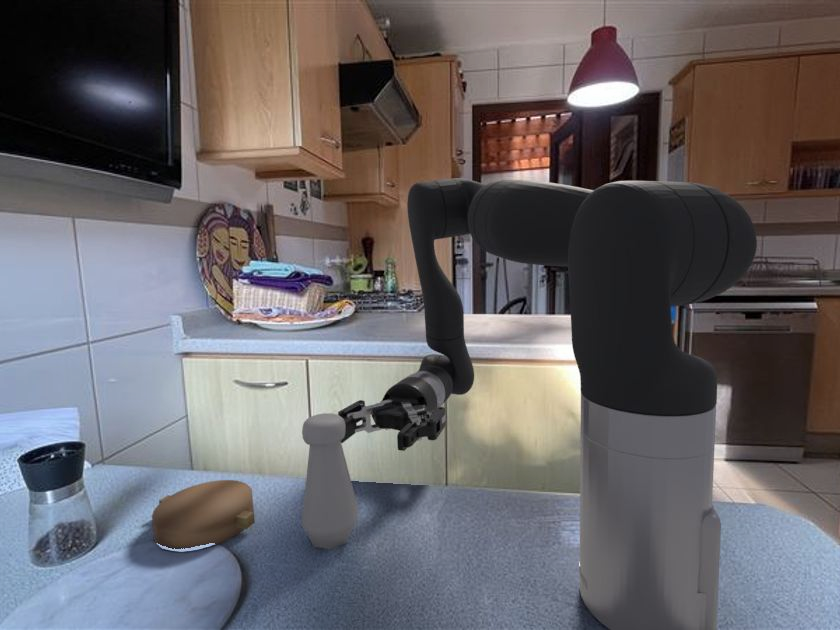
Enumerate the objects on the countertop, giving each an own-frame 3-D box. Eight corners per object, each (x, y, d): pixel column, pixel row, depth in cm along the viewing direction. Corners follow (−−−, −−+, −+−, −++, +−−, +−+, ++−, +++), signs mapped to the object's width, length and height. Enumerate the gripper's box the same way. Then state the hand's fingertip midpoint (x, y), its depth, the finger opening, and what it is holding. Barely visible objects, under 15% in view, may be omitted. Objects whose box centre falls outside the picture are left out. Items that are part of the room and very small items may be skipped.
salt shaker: (365, 521, 48) (358, 407, 47) (351, 556, 42) (344, 427, 41) (313, 520, 49) (306, 407, 47) (294, 554, 43) (284, 427, 41)
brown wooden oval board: (281, 508, 51) (279, 488, 51) (214, 563, 42) (212, 539, 42) (200, 492, 56) (198, 474, 55) (123, 539, 46) (120, 517, 46)
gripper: (373, 374, 70) (316, 405, 55) (458, 378, 65) (421, 414, 50) (375, 418, 71) (320, 461, 56) (460, 427, 66) (424, 476, 51)
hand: (368, 439), depth 53 cm, fingers open, 8 cm apart
